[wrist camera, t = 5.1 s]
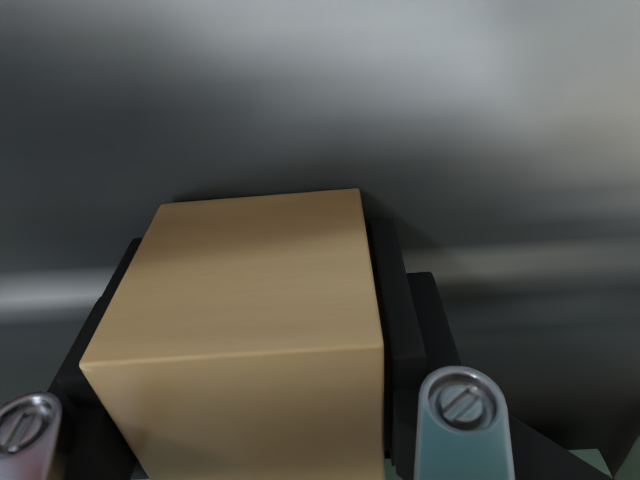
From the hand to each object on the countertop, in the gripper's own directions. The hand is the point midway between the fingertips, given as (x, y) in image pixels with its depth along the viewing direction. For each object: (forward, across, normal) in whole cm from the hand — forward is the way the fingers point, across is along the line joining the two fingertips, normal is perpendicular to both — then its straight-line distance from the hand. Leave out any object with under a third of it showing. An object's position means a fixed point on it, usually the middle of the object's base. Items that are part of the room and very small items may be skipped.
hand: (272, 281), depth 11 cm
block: (0, 0, 0) cm, 0 cm away
